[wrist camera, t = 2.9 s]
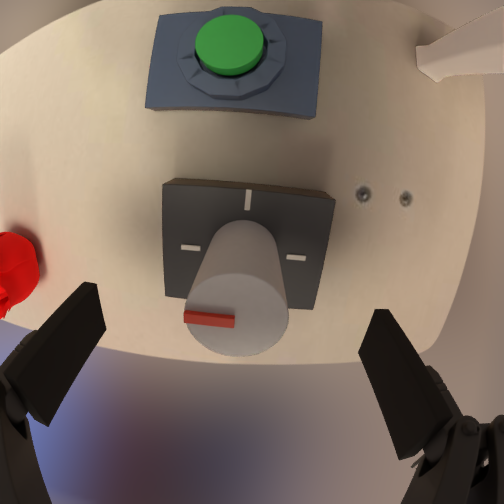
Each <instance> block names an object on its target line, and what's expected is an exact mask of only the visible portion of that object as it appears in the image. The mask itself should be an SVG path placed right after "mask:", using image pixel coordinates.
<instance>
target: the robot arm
mask: <svg viewBox="0 0 504 504" xmlns="http://www.w3.org/2000/svg"><path fill="white" fill-rule="evenodd" d="M105 331H106V325H105V321H104V317H103V313H102V308H101V304H100V299H99V294H98V289H97V284H95V283H90V282H83V283H82V284H81V285H80V286H79V287H78V288H77V289H76V290H75V291H74V292H73V293H72V294H71V295H70V296H69V297H68V298H67V299H66V300H65V301H64V302H63V303H62V304H61V305H60V307H59V308H58V309H57V310H56V311H55V312H54V313H53V314H52V315H51V316H50V317H49V318H48V319H47V321H46V322H45V323H44V324H43V325H42V326H41V327H40V328H39V329H38V330H34V331H32V332H31V333H29V334H28V335H26V336H25V337H24V338H23V340H22V341H21V342H20V344H18V345H17V346H16V348H15V350H13V351H12V353H11V354H10V355H9V356H8V357H7V359H6V360H5V361H4V362H3V364H2V365H1V366H0V504H52V502H51V500H50V497H49V495H48V492H47V489H46V486H45V483H44V480H43V477H42V474H41V471H40V468H39V464H38V461H37V457H36V454H35V449H34V446H33V441H32V437H31V432H30V427H29V421H28V419H27V417H26V414H27V413H28V412H29V413H30V414H31V416H33V418H34V420H36V421H38V422H40V423H42V424H44V425H45V426H47V427H49V425H50V423H51V421H52V419H53V417H54V415H55V413H56V412H57V410H58V408H59V406H60V404H61V402H62V401H63V399H64V397H65V395H66V394H67V392H68V390H69V388H70V387H71V385H72V383H73V382H74V380H75V378H76V377H77V375H78V373H79V372H80V370H81V368H82V367H83V365H84V363H85V362H86V360H87V359H88V357H89V356H90V354H91V352H92V351H93V349H94V348H95V346H96V345H97V343H98V342H99V340H100V338H101V337H102V335H103V334H104V332H105ZM358 354H359V356H360V358H361V361H362V363H363V365H364V368H365V370H366V373H367V375H368V378H369V380H370V383H371V385H372V388H373V390H374V393H375V395H376V398H377V400H378V403H379V406H380V408H381V411H382V414H383V416H384V419H385V422H386V425H387V427H388V430H389V433H390V436H391V438H392V441H393V444H394V447H395V450H396V453H397V456H398V459H399V460H402V459H406V458H409V457H412V456H415V455H416V454H417V453H418V452H419V451H420V450H421V449H422V448H423V450H424V453H425V454H424V455H423V456H421V457H420V458H419V459H418V460H417V461H416V462H414V463H413V465H412V466H411V468H413V467H415V466H416V465H417V464H418V463H419V464H418V467H417V468H416V472H415V474H414V476H413V479H412V481H411V483H410V485H409V487H408V490H407V492H406V494H405V496H404V498H403V500H402V502H401V504H504V415H499V416H497V417H496V418H495V419H494V420H493V421H492V422H491V423H486V424H479V422H478V421H477V420H476V419H475V418H473V417H471V416H463V415H462V413H461V411H460V409H459V408H458V406H457V404H456V402H455V401H454V399H453V397H452V395H451V394H450V392H449V390H447V387H446V385H445V384H444V383H443V380H442V379H441V377H440V375H439V374H438V372H437V371H435V370H434V369H433V368H432V367H431V366H425V365H424V363H423V362H422V360H421V358H420V357H419V355H418V353H417V352H416V350H415V349H414V347H413V346H412V344H411V342H410V341H409V339H408V338H407V336H406V335H405V333H404V332H403V330H402V329H401V327H400V326H399V324H398V323H397V321H396V320H395V318H394V317H393V315H392V314H391V312H390V311H389V309H375V310H374V313H373V316H372V319H371V321H370V324H369V327H368V329H367V332H366V334H365V337H364V339H363V342H362V344H361V347H360V349H359V351H358ZM487 458H488V461H489V464H488V465H486V466H484V461H485V460H486V459H487Z"/></svg>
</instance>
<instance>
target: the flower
mask: <svg viewBox="0 0 504 504" xmlns="http://www.w3.org/2000/svg"><path fill="white" fill-rule="evenodd" d="M39 277H40V274H39V267H38V262H37V259H36V253H35V249H34V247H33V245H32V243H31V242H30V241H29V240H27V239H26V238H24V237H23V236H20V235H18V234H15V233H12V232H1V233H0V319H1V318H2V317H3V319H4V318H5V315H6V313H7V310H8V309H9V311H10V309H11V307H12V306H14V305H16V304H18V303H20V302H22V301H23V300H25V299H26V298H27V297H28V296H29V295H30V294H31V293H32V291H33V290H34V289H35V287H36V285H37V284H38V281H39ZM9 311H8V312H9Z"/></svg>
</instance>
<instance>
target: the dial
mask: <svg viewBox="0 0 504 504" xmlns="http://www.w3.org/2000/svg"><path fill="white" fill-rule="evenodd" d="M288 320H289V312H288V306H287V300H286V294H285V289H284V283H283V278H282V272H281V267H280V261H279V256H278V251H277V246H276V242H275V239H274V238H273V236H272V234H271V233H270V232H269V231H268V230H267V229H266V228H265V227H264V226H262V225H260V224H258V223H256V222H253V221H248V220H237V221H233V222H230V223H228V224H226V225H224V226H222V227H221V228H220V229H219V230H218V231H217V232H216V233H215V235H214V236H213V238H212V241H211V243H210V245H209V247H208V250H207V252H206V254H205V257H204V259H203V261H202V264H201V266H200V269H199V271H198V273H197V276H196V278H195V280H194V283H193V285H192V288H191V290H190V293H189V295H188V297H187V300H186V303H185V308H184V323H186V324H187V326H188V329H189V331H190V332H191V334H192V335H193V336H194V338H195V339H196V340H197V341H198V342H199V343H201V344H202V345H203V346H204V347H206V348H208V349H209V350H212V351H214V352H216V353H219V354H222V355H226V356H233V357H245V356H252V355H256V354H259V353H261V352H264V351H266V350H268V349H269V348H271V347H272V346H274V345H275V344H276V343H277V342H278V341H279V340H280V339H281V337H282V336H283V334H284V333H285V331H286V328H287V325H288Z"/></svg>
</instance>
